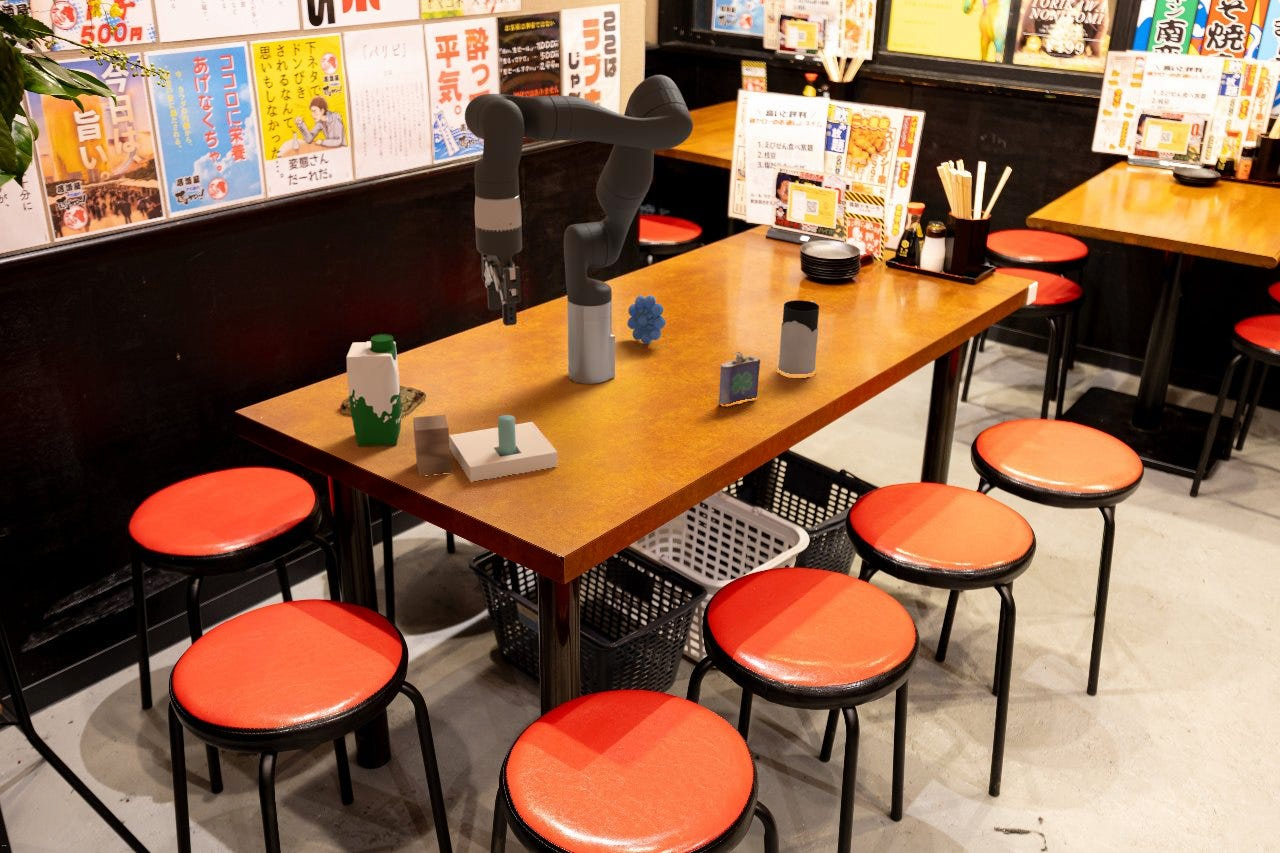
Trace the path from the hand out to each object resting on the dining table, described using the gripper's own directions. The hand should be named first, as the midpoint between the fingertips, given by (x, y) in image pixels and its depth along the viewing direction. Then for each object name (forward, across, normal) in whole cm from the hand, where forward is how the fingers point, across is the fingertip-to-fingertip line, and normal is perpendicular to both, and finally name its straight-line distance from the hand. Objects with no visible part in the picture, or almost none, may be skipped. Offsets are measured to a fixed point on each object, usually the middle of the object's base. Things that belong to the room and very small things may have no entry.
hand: (502, 316), depth 190 cm
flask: (+28, +10, -52) cm, 60 cm away
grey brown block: (+28, +4, +13) cm, 31 cm away
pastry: (+29, +35, +15) cm, 48 cm away
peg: (+28, 0, 0) cm, 28 cm away
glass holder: (+28, +22, -74) cm, 82 cm away
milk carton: (+28, +20, +19) cm, 40 cm away
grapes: (+28, +48, -49) cm, 74 cm away
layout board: (+28, +3, 0) cm, 28 cm away
